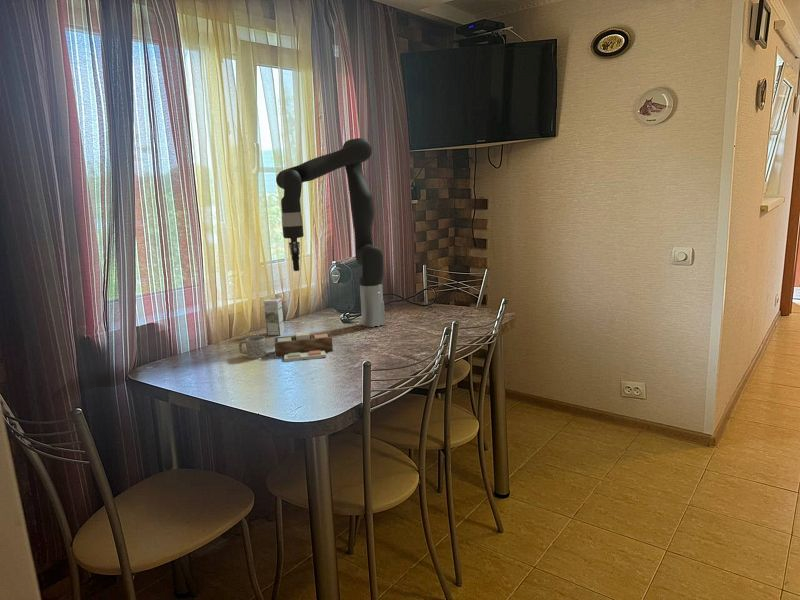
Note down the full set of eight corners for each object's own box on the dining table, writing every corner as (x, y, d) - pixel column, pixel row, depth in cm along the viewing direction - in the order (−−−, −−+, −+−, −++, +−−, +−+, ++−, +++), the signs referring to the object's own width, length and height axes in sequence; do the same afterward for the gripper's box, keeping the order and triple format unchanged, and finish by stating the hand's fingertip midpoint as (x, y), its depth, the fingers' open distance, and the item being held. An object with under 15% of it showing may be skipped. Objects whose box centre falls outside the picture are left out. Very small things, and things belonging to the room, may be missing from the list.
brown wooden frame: (330, 345, 212) (329, 332, 211) (332, 351, 204) (331, 337, 203) (275, 350, 208) (274, 337, 207) (275, 357, 200) (274, 343, 199)
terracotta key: (327, 340, 210) (327, 333, 209) (328, 343, 205) (328, 336, 204) (314, 341, 209) (314, 334, 208) (315, 345, 204) (314, 338, 203)
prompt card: (324, 353, 202) (324, 348, 202) (326, 357, 197) (325, 352, 197) (284, 357, 199) (284, 353, 199) (284, 361, 195) (284, 357, 194)
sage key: (291, 343, 207) (291, 337, 206) (292, 347, 202) (291, 340, 202) (278, 345, 206) (277, 338, 206) (278, 348, 201) (277, 341, 201)
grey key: (309, 338, 208) (309, 331, 207) (310, 341, 203) (309, 334, 203) (296, 339, 207) (295, 332, 206) (296, 342, 202) (296, 335, 202)
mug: (269, 354, 204) (268, 336, 203) (260, 359, 198) (258, 341, 197) (245, 353, 207) (243, 335, 206) (235, 358, 201) (233, 340, 199)
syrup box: (284, 332, 234) (281, 297, 232) (280, 335, 229) (277, 300, 226) (271, 332, 235) (267, 297, 232) (266, 336, 229) (263, 300, 226)
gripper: (303, 225, 208) (307, 272, 211) (301, 223, 220) (305, 267, 224) (282, 226, 206) (286, 274, 210) (282, 224, 219) (286, 269, 222)
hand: (296, 270), depth 217 cm, fingers closed
